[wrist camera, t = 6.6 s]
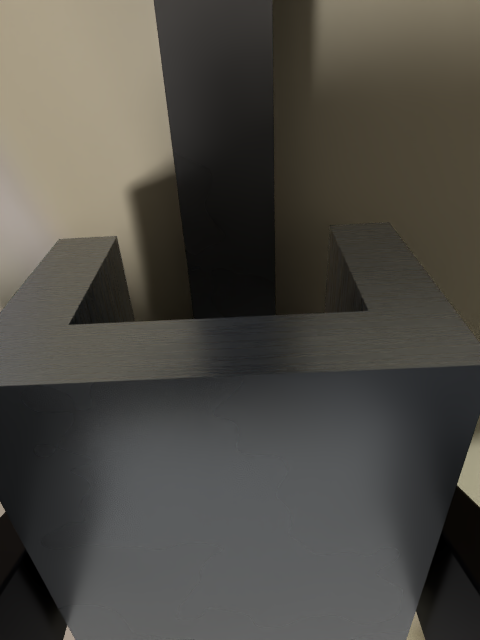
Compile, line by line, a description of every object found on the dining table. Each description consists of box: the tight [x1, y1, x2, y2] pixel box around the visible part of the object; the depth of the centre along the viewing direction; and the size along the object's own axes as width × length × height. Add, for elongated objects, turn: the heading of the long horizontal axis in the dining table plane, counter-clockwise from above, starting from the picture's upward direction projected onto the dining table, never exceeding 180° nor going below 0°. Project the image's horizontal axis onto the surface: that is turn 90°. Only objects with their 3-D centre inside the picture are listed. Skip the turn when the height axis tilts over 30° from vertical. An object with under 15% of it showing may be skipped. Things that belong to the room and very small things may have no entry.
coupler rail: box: [154, 0, 275, 319], centre depth 7 cm, size 5×14×5 cm, turn 3°
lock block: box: [0, 223, 480, 640], centre depth 9 cm, size 6×9×4 cm
